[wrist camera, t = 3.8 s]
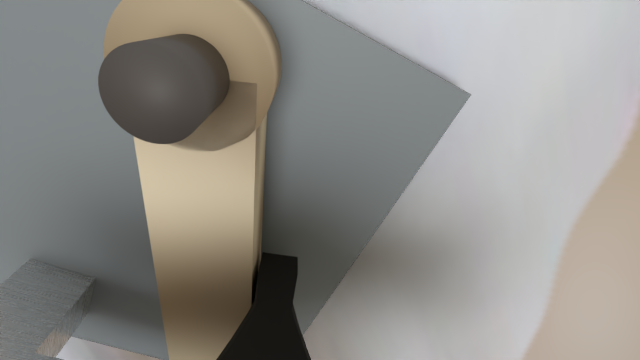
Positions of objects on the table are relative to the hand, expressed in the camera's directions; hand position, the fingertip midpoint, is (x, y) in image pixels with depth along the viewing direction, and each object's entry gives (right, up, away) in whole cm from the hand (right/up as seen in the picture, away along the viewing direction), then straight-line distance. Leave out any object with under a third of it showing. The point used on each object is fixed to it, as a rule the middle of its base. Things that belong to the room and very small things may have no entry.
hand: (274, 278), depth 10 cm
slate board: (-3, +2, +1) cm, 4 cm away
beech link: (-2, +2, 0) cm, 2 cm away
